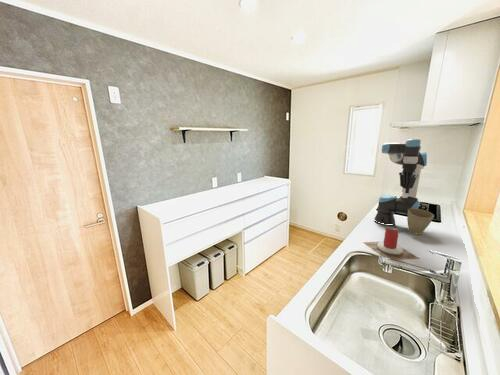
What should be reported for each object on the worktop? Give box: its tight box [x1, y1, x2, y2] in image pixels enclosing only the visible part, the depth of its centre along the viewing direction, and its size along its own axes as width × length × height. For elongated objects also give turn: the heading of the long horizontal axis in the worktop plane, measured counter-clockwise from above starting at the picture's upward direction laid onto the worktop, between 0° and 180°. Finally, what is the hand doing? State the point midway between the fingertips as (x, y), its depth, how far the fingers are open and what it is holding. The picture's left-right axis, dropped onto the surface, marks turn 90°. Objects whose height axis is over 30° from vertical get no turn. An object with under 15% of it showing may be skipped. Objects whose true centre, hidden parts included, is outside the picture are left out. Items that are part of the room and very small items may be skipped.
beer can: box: [383, 226, 399, 249], centre depth 123 cm, size 7×7×12 cm
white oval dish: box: [377, 241, 404, 255], centre depth 126 cm, size 20×13×5 cm, turn 138°
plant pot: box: [406, 208, 435, 235], centre depth 151 cm, size 15×15×16 cm
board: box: [362, 241, 421, 261], centre depth 123 cm, size 22×20×7 cm
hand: (404, 197), depth 139 cm, fingers closed
